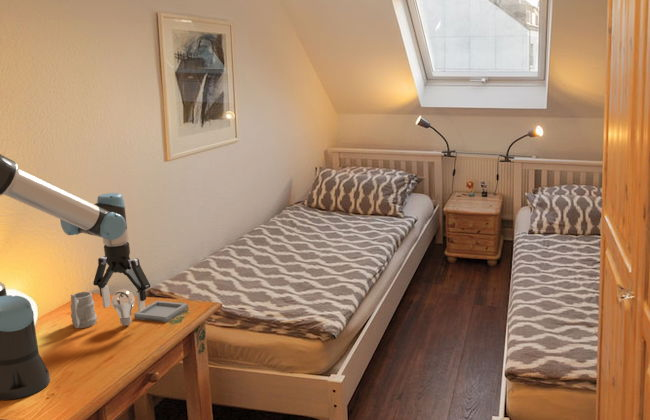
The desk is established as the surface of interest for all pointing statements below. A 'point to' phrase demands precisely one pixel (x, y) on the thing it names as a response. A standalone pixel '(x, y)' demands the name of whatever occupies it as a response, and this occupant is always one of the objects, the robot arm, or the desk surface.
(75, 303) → the mug
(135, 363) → the desk surface
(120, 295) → the light bulb
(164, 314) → the dish
